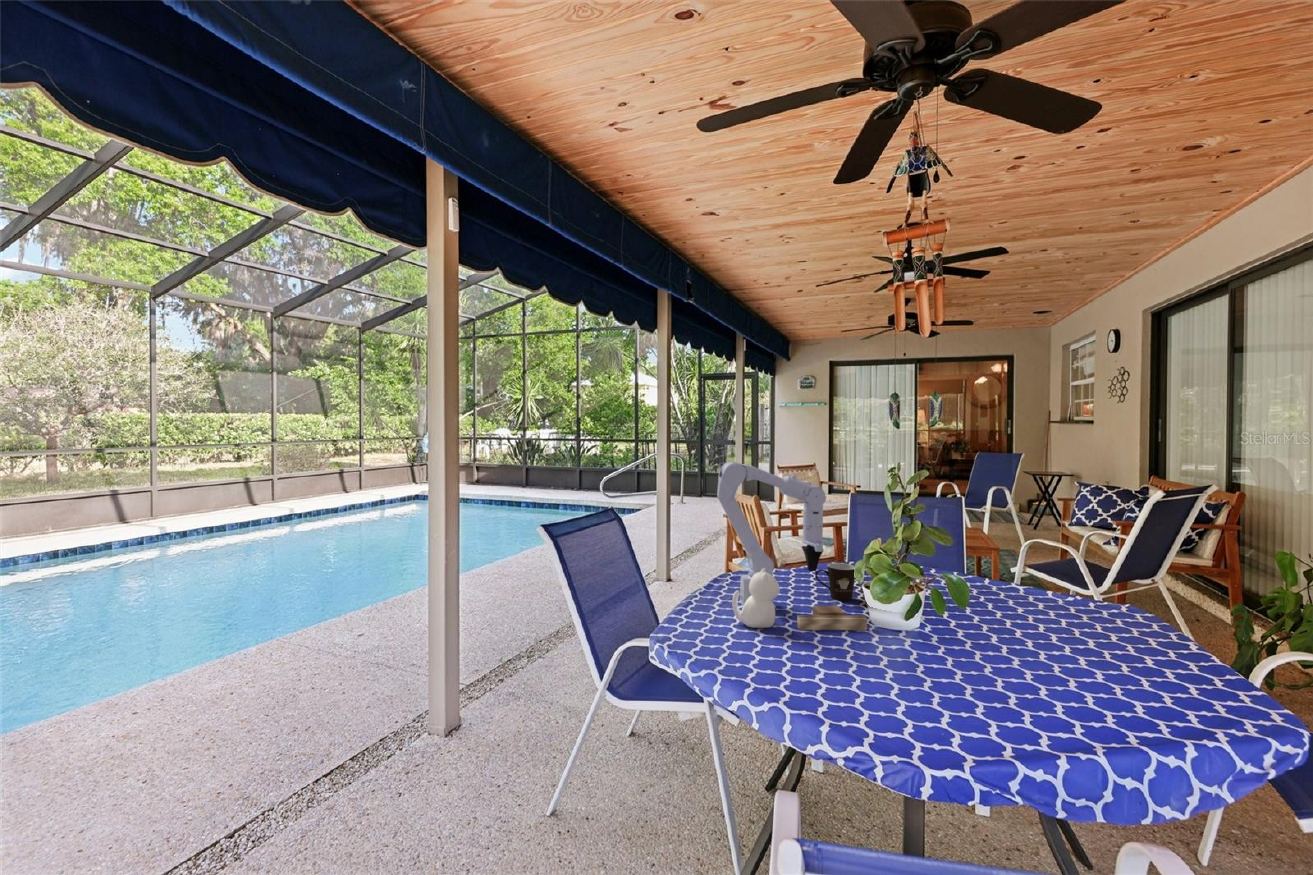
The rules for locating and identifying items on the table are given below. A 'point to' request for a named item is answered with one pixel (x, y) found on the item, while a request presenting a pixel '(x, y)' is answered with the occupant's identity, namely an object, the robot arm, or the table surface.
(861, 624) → the board
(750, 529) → the robot arm
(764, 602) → the cat figurine
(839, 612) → the walnut block
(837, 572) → the coffee mug
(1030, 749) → the table surface
